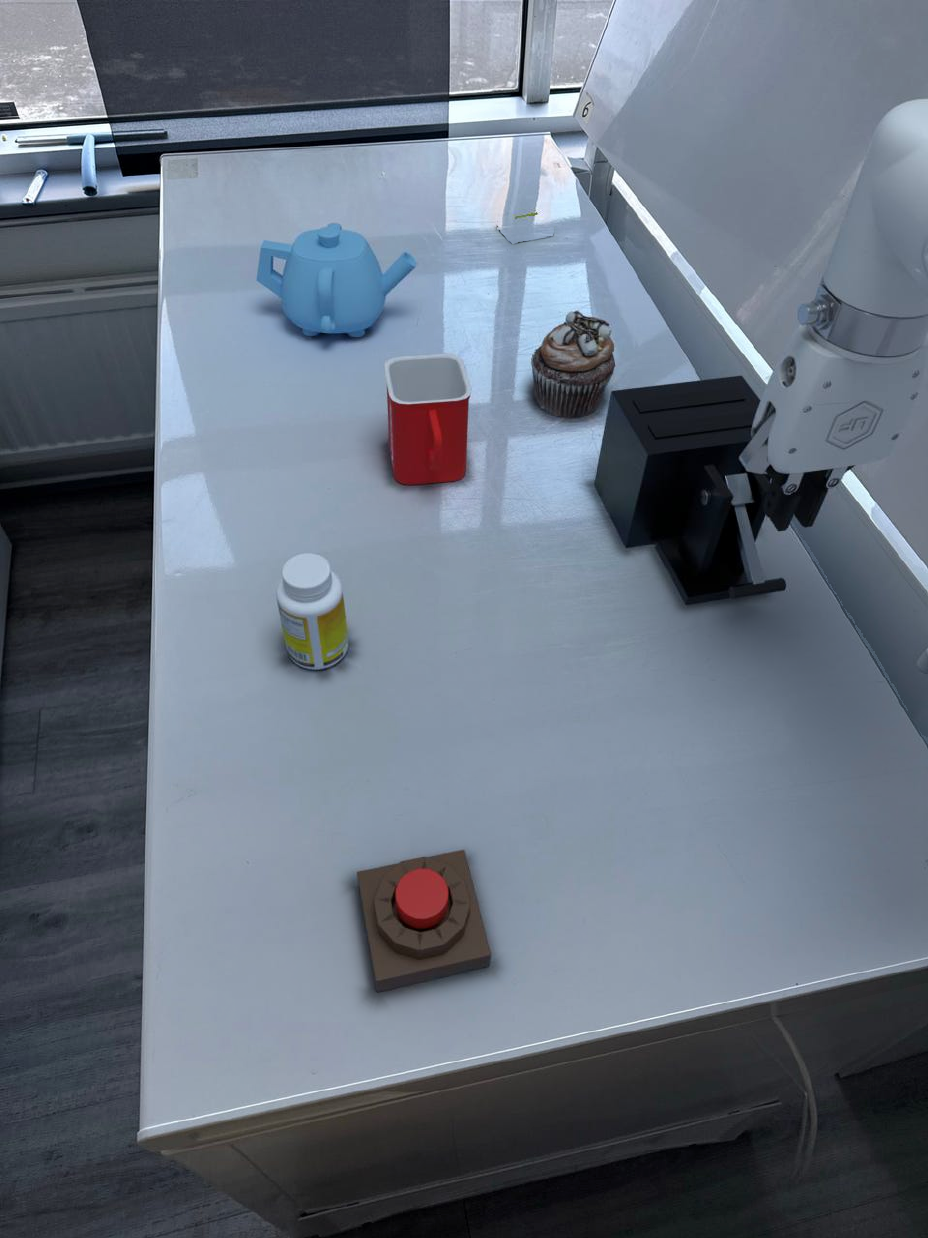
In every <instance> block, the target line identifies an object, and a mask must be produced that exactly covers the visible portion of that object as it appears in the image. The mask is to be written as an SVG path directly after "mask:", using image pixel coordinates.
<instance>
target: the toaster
mask: <svg viewBox="0 0 928 1238" xmlns="http://www.w3.org/2000/svg"><path fill="white" fill-rule="evenodd" d="M760 401H761V398H760V397H759V396H758V395H757V394H756V392H755V391H754V389H753V388H752V387H751V385H750V383H748V382H747V380H746V379H745V377H744V376H743V375H734V376H725V377H716V378H709V379H708V378H707V379H700V380H692V381H691V380H690V381H682V382H674V383H666V384H658V385H649V386H648V385H647V386H641V387H633V388H624V389H615V390H611V392H610V397H609V402H608V407H607V412H606V417H605V423H604V429H603V434H602V439H601V444H600V450H599V456H598V460H597V466H596V471H595V478H594V483H593V485H594V487H595V489H596V491H597V493H598V495H599V497H600V499H601V502H602V503H603V506H604V507H605V509H606V511H607V513H608V515H609V517H610V519H611V521H612V523H613V525H614V527H615V529H616V531H617V532H618V535H619V538H620V539H621V541H622V543H623V545H624V547H625V548H633V547H634V548H635V547H640V546H646V545H654V544H657V541H658V540H664V539H671V538H678V537H682V536H683V533H684V530H685V526H686V523H687V520H688V516H689V513H690V510H691V506H692V503H693V500H694V496H695V493H696V490H697V486H698V483H699V480H700V476H701V473H702V470H703V466H708V465H714V466H715V468H716V470H717V471H718V473H719V474H720V476H721V477H722V478H723V477H724V476H727V475H734V474H740V471H741V468H742V463H741V462H740V460H739V457H740V455H741V453H742V452H743V451H744V449H745V448H746V447H747V445H748V444H749V443H750V441H751V440H752V437H751V430H752V425H753V421H754V418H755V415H756V412H757V409H758V406H759V403H760ZM764 475H765V476H766V478H767V479H768V481H769V482H770V483H771V481H772V479H771V478H770V477H769V476H768V474H764Z"/></svg>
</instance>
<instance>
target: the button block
mask: <svg viewBox="0 0 928 1238" xmlns="http://www.w3.org/2000/svg"><path fill="white" fill-rule="evenodd" d="M420 868H424V869H430V870H433V871H435V872H437V873H438V874H439V875H441V876H442V878H443V879H444V880H445V882H446V884H447V887H448V893H449V895H448V908H447V912H446V914H445V916H444V917H443V919H442V920H441V921H440V922H439V923H438V924H436V925H434V926H432V927H429V928H425V929H419V928H414V927H411V926H409V925H407V924H406V923H405V922H403V921H402V919H401V918H400V917H399V915H398V912H397V909H396V898H395V892H396V887H397V884H398V882H399V881H400V879H401V878H402V877H403V876H404V875H405V874H406V873H408V872H410V871H412V870H415V869H420ZM471 875H472V874H471V871H470V867H469V863H468V859H467V856H466V852H465V849H461V850H456V851H450V852H447V853H446V852H445V853H441V854H437V855H433V856H420V857H415V858H410V859H406V860H401V861H400V862H398V863H393V864H388V865H383V866H379V867H373V868H369V869H365V870H360V871H359V870H358V871H356V877H357V884H358V891H359V895H360V903H361V908H362V914H363V920H364V925H365V931H366V937H367V942H368V948H369V954H370V961H371V965H372V966H371V967H372V972H373V978H374V984H375V989H376V993H381V992H385V991H389V990H394V989H397V988H403V987H406V986H410V985H411V986H412V985H415V984H419V983H424V982H428V981H432V980H436V979H441V978H446V977H449V976H453V975H458V974H462V973H463V974H464V973H466V972H471V971H475V970H479V969H484V968H489V967H490V965H491V958H492V953H491V949H490V944H489V941H488V937H487V934H486V929H485V926H484V921H483V917H482V914H481V910H480V906H479V902H478V899H477V894H476V891H475V887H474V883H473V879H472V876H471Z"/></svg>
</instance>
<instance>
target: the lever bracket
mask: <svg viewBox="0 0 928 1238" xmlns="http://www.w3.org/2000/svg"><path fill="white" fill-rule="evenodd" d="M742 473H747V475H748V479H749V483H750V487H751V491H752V495H753V499H754V502H753V503H752V504H750V505H749V506H747V507H746V510H747V514H748V518H749V522H750V526H751V530H752V534H753V538H754V542H755V543H756V541H757V538H758V535H759V533H760V531H761V528H762V525H763V523H764V520H765V518H766V514H765V513H764V510H763V502H764V499H765V497H766V494H767V491H768V489H769V486H770V483H771V481H770V482H769V481H768V479H767V478H766V476H765V475H764V474H758V473H753V472H748V471H746V469H745V468H744V466H743V465H742V468H741V471H740V474H742ZM733 497H734V496H733V494H732V493H731V491H730V490H729V488H728V487H727V485H726V483H725V482H724V480H723V479H722V477H721V476H720V474H719V473H718V471H717V470H716V468H715V466H714V465H708V466H703V470H702V473H701V476H700V480H699V483H698V486H697V490H696V493H695V496H694V500H693V503H692V506H691V510H690V513H689V516H688V520H687V523H686V526H685V530H684V533H683V536H682V537H678V538H671V539H664V540H658V541H657V543H655V544H656V545H655V549H656V551H657V552H658V554H659V556H660V558H661V560H662V562H663V564H664V567H666V570H667V572H668V574H669V575H670V577H671V579H672V581H673V583H674V585H675V587H676V588H677V591H678V592H679V594H680V596H681V598H682V599H683V602H684V604H685V605H691V604H692V605H693V604H698V603H705V602H710V601H716V600H717V601H718V600H722V599H729V598H731V597H730V595H729V588H730V586H733V585H739V584H746V583H748V582H747V578H746V574H745V570H744V566H743V561H742V557H741V553H740V549H739V545H738V541H737V537H736V533H735V529H734V525H733V521H732V517H731V513H730V512H728V511H729V509H730V506H731V503H732V500H733Z"/></svg>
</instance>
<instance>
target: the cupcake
mask: <svg viewBox="0 0 928 1238" xmlns="http://www.w3.org/2000/svg"><path fill="white" fill-rule="evenodd" d="M564 319H565V321H564V322H563V323H561V324H560V323H559V324H558V325H557V326H555V327H554V328H553V329H552V330H551V331H550V332H549V333H547V334H546V336H545V337H544V338H543V340H542V343H541V345H540V346H539V347H538V348H535V349H534V352H533V354H531V357H530V364H531V365H530V366H531V372H532V380H533V381H532V382H533V392H534V394H533V395H534V400H535V403H536V405H537V406H538V407H539V408H540V409H542V410H543V411H545V412H546V413H547V414H550V415H552V416H555V417H559V418H560V417H562V418H568V419H574V418H582V417H585V416H589V415H590V414H592V413H595V411H596V410H597V407H598V406H599V405H600V402H601V400H602V397H603V395H604V393H605V391H606V388H607V386H608V384H609V382H610V380H611V379H612V376H613V375H614V371H615V368H616V360H615V356H614V351H615V343H614V342H613V340H612V338H611V334H612V329H611V328H610V323H609V322H607V321H606V320H604V319H601V318H598V317H594V316H586V315H584V314H583V313H582V312H580V311H579V310H575V311H569V312H568V313H567V314H566V315H565V318H564Z"/></svg>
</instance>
